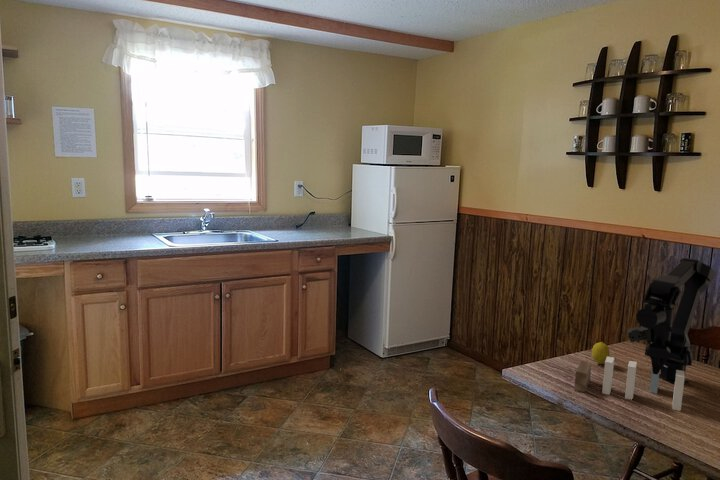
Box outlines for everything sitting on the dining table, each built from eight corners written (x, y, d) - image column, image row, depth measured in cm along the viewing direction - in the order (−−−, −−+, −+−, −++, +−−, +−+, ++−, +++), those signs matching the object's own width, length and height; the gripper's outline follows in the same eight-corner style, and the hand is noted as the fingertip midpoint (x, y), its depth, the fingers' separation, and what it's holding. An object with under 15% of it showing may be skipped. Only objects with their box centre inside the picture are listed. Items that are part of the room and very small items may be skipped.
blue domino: (657, 387, 158) (661, 356, 157) (656, 393, 154) (660, 362, 153) (650, 386, 159) (653, 355, 158) (649, 392, 155) (652, 360, 154)
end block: (589, 380, 162) (591, 362, 162) (584, 392, 154) (586, 373, 153) (579, 378, 164) (581, 360, 163) (574, 390, 156) (575, 371, 155)
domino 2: (633, 393, 154) (636, 362, 152) (632, 400, 150) (635, 367, 148) (626, 392, 155) (629, 360, 153) (624, 398, 151) (627, 366, 149)
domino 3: (680, 404, 148) (684, 371, 146) (680, 411, 143) (684, 377, 142) (672, 402, 149) (676, 369, 147) (672, 409, 144) (676, 375, 143)
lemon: (611, 367, 174) (613, 345, 172) (594, 367, 174) (597, 344, 173) (603, 361, 179) (606, 339, 178) (588, 360, 179) (590, 339, 178)
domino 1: (611, 388, 157) (614, 357, 156) (609, 394, 153) (612, 363, 151) (604, 387, 158) (607, 356, 157) (602, 393, 154) (605, 361, 152)
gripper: (633, 310, 166) (628, 356, 168) (628, 324, 150) (623, 375, 152) (673, 315, 160) (667, 363, 162) (672, 332, 144) (666, 384, 146)
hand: (655, 371), depth 156 cm, fingers closed on blue domino, 5 cm apart
